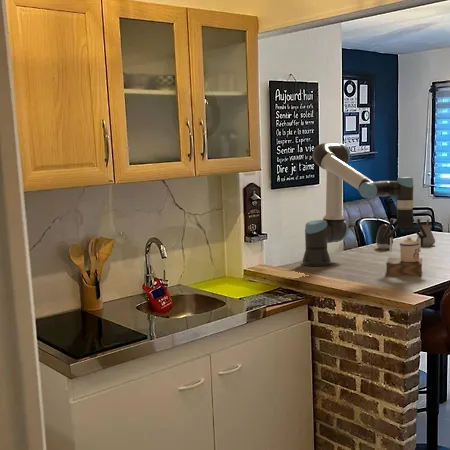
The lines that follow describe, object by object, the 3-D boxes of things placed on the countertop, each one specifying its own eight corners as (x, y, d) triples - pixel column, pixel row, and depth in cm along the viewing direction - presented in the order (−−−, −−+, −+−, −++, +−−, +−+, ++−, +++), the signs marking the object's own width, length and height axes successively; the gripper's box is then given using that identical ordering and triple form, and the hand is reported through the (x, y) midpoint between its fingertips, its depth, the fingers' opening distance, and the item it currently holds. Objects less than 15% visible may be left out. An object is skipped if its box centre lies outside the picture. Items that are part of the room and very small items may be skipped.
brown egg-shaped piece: (395, 247, 363) (395, 223, 362) (390, 250, 355) (390, 225, 353) (379, 246, 369) (379, 222, 367) (373, 249, 360) (373, 224, 358)
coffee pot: (434, 247, 362) (434, 223, 360) (415, 246, 367) (415, 222, 365) (437, 242, 381) (437, 219, 380) (418, 241, 386) (419, 218, 384)
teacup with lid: (417, 262, 280) (416, 238, 279) (398, 262, 285) (397, 238, 284) (422, 258, 291) (422, 235, 289) (404, 258, 295) (403, 235, 294)
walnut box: (386, 275, 284) (386, 263, 283) (388, 269, 299) (388, 257, 299) (421, 277, 279) (421, 264, 278) (422, 270, 294) (422, 258, 293)
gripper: (379, 209, 284) (379, 252, 287) (433, 209, 279) (432, 253, 281) (378, 208, 291) (378, 250, 294) (430, 207, 286) (430, 250, 289)
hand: (404, 251), depth 288 cm, fingers open, 13 cm apart
